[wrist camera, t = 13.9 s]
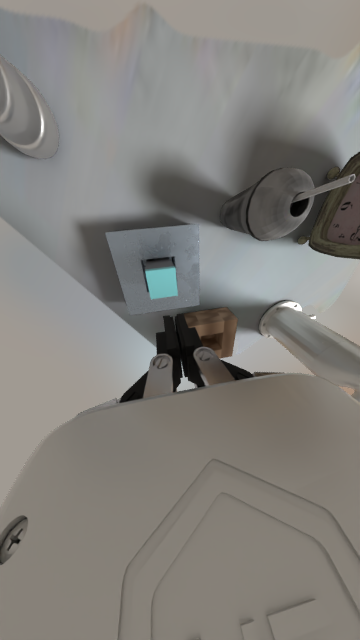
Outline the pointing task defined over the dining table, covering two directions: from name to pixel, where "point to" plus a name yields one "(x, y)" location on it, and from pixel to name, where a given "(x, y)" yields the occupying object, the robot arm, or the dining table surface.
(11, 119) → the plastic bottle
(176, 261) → the socket block
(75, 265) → the dining table surface
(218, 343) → the wooden square hole block
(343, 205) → the tabletop clock
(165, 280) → the plug
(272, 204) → the beverage cup
